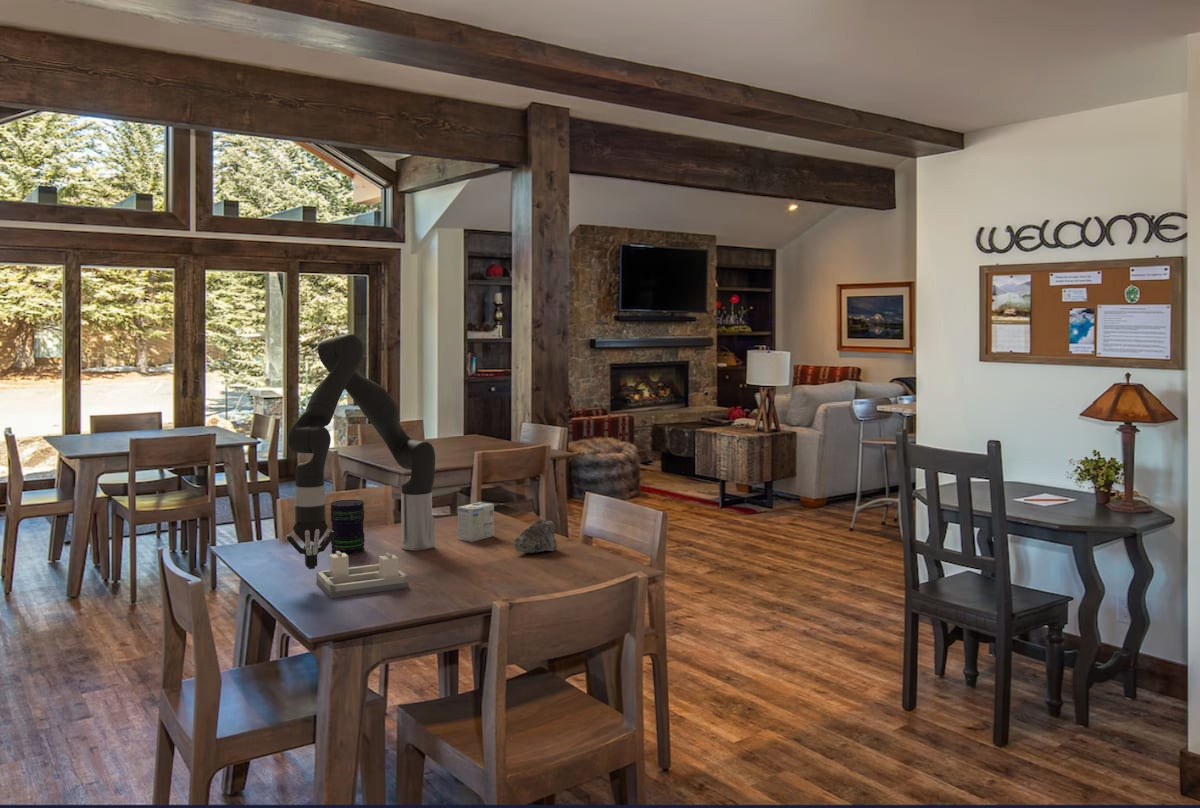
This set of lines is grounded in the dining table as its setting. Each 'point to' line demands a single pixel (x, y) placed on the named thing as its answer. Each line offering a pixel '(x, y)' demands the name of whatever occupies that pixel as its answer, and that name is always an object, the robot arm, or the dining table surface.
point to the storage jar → (347, 526)
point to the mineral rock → (537, 538)
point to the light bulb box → (475, 521)
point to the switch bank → (359, 581)
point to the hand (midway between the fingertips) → (311, 568)
